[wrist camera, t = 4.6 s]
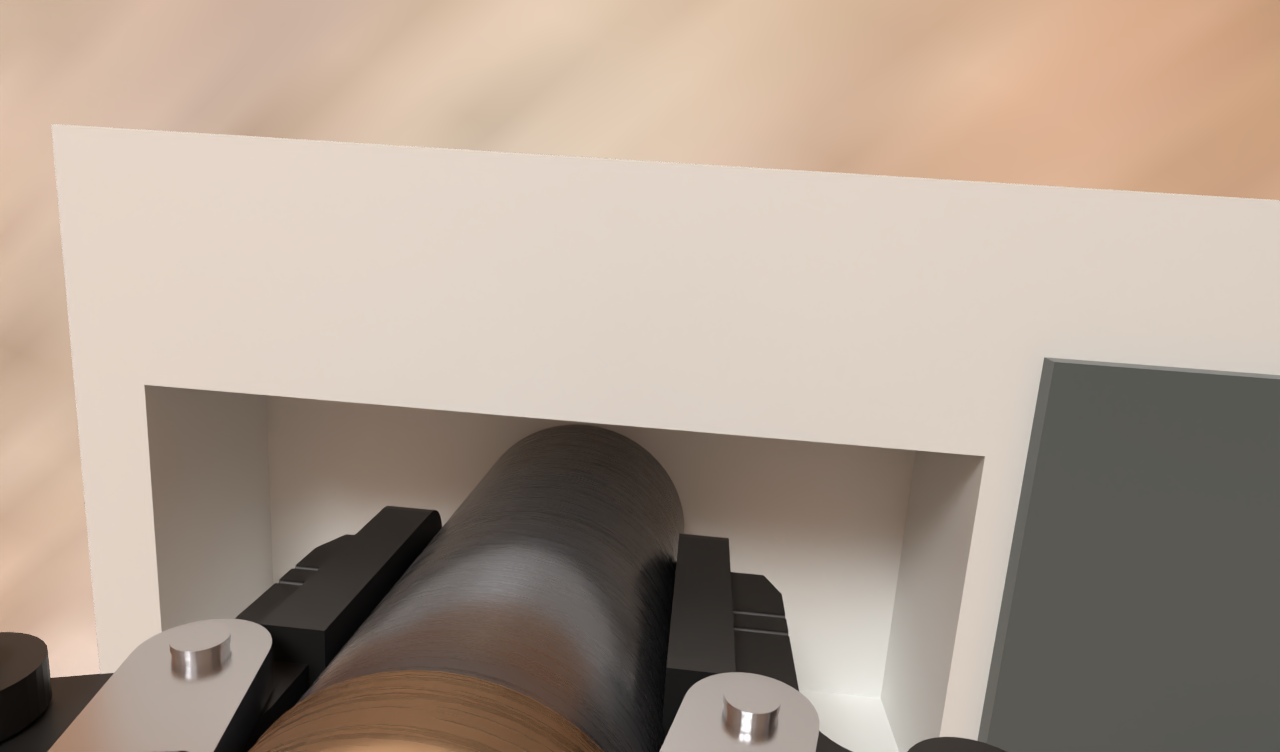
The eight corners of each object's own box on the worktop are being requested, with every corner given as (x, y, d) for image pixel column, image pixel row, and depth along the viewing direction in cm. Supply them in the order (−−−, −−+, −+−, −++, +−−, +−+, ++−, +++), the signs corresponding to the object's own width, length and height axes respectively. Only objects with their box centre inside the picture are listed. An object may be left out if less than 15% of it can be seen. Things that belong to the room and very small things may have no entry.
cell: (695, 431, 13) (642, 1194, 3) (678, 633, 14) (594, 1776, 4) (476, 412, 14) (-243, 1058, 3) (472, 612, 14) (-120, 1630, 4)
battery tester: (1339, 214, 12) (1615, 220, 9) (1179, 871, 15) (1337, 1097, 11) (219, 144, 14) (31, 121, 10) (248, 761, 16) (107, 932, 12)
